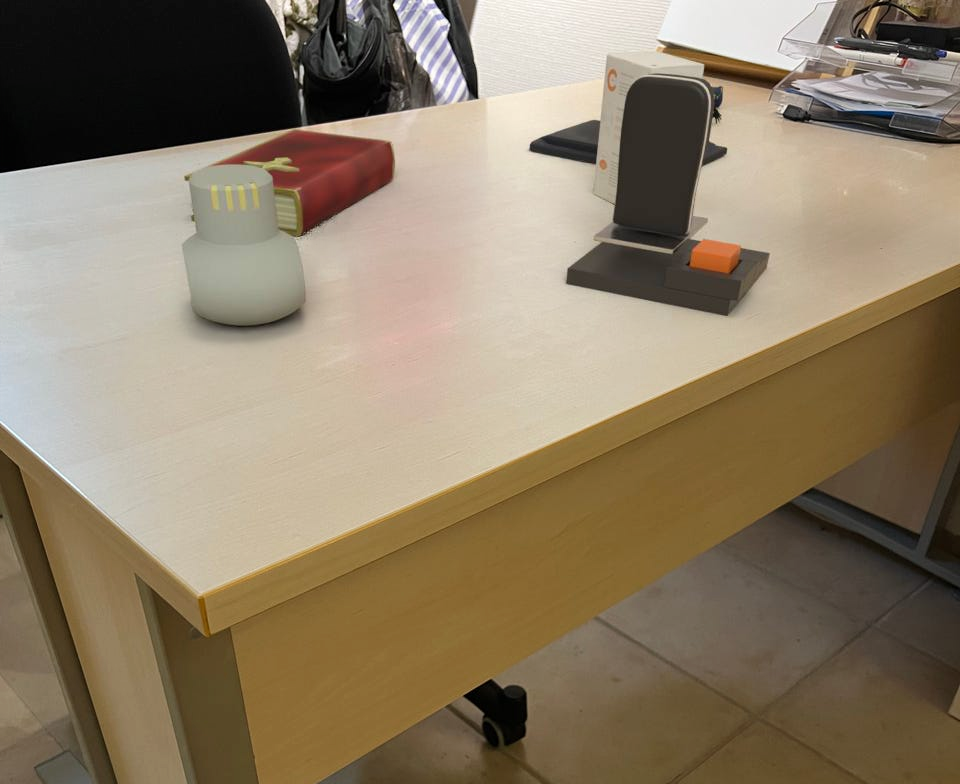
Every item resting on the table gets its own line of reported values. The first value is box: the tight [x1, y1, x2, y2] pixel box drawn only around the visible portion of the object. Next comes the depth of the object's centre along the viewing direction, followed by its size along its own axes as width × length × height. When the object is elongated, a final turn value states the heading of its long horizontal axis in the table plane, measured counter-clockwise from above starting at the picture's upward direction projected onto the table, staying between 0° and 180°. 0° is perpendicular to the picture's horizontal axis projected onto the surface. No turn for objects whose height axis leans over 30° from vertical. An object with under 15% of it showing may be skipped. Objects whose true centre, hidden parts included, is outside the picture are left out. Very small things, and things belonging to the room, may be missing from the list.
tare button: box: [690, 238, 742, 274], centre depth 76 cm, size 3×3×2 cm
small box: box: [592, 50, 705, 205], centre depth 95 cm, size 8×6×13 cm
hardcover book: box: [183, 128, 396, 237], centre depth 95 cm, size 12×21×4 cm, turn 160°
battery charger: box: [612, 73, 715, 234], centre depth 78 cm, size 7×4×11 cm, turn 66°
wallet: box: [528, 119, 728, 166], centre depth 114 cm, size 20×2×15 cm
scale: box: [565, 238, 770, 317], centre depth 81 cm, size 14×13×3 cm
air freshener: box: [181, 165, 307, 327], centre depth 70 cm, size 11×8×10 cm
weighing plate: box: [593, 215, 709, 255], centre depth 82 cm, size 7×10×1 cm
